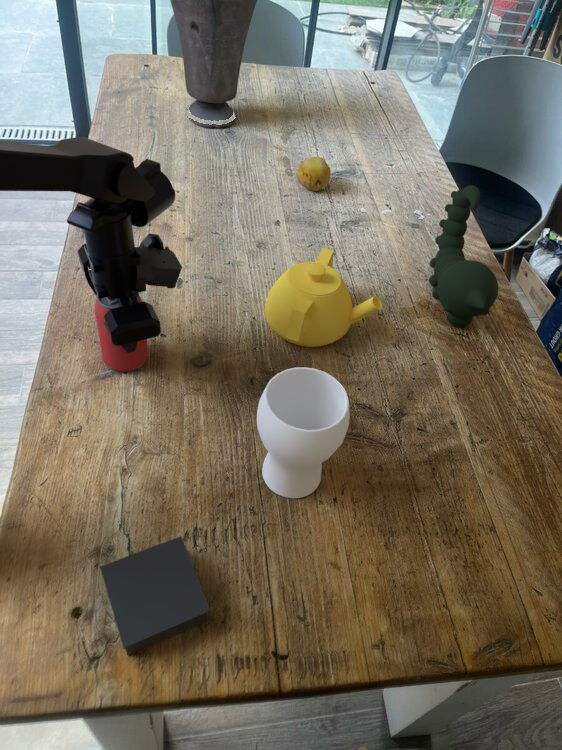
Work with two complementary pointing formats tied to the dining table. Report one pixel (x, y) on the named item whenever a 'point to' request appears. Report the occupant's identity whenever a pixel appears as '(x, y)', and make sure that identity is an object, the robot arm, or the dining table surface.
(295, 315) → the teapot
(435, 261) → the toy figurine
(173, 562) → the block
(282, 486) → the cup
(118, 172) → the robot arm
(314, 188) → the fruit
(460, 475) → the dining table surface
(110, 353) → the beer can
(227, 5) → the vase
